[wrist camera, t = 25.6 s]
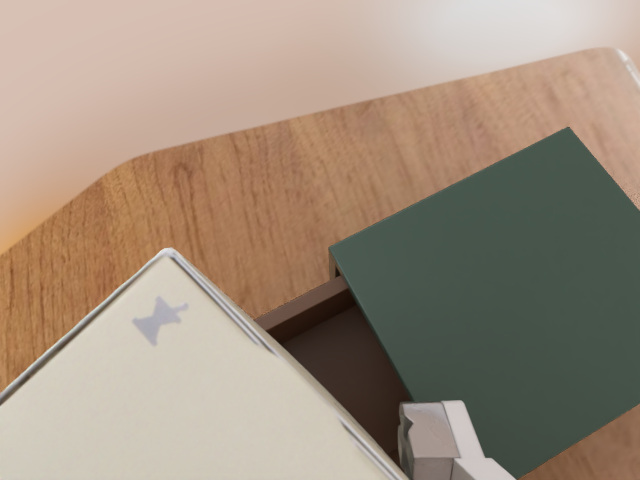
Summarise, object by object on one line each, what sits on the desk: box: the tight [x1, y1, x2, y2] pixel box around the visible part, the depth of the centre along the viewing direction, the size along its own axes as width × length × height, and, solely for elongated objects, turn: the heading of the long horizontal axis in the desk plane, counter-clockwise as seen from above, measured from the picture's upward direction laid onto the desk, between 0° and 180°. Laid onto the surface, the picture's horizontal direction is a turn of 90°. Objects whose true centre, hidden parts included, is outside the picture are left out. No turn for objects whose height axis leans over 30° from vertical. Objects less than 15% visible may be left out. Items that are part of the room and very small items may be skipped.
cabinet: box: [329, 127, 640, 480], centre depth 25 cm, size 15×13×10 cm
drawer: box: [254, 275, 411, 474], centre depth 23 cm, size 18×11×8 cm, turn 117°
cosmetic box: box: [0, 248, 410, 480], centre depth 11 cm, size 6×4×12 cm
